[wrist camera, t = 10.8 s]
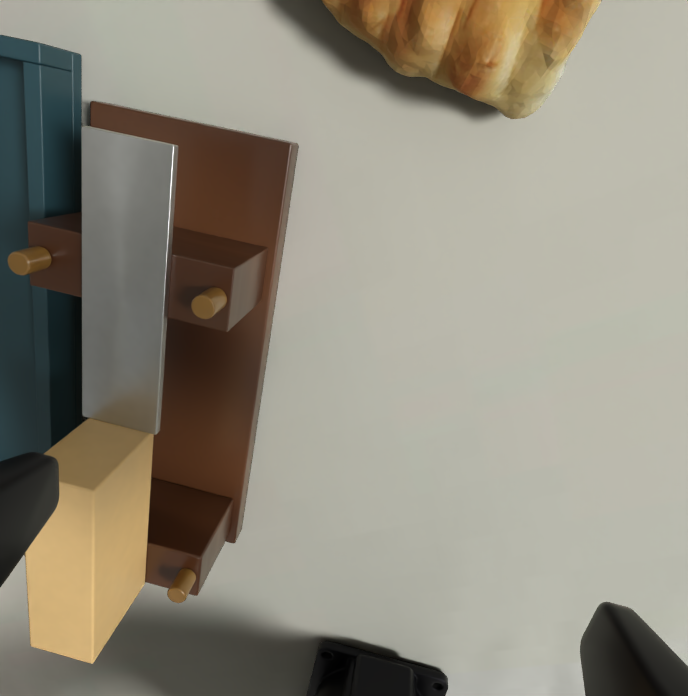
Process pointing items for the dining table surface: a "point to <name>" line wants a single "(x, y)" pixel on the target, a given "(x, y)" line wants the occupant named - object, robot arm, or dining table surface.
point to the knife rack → (197, 327)
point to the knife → (109, 400)
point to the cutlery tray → (12, 235)
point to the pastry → (474, 43)
